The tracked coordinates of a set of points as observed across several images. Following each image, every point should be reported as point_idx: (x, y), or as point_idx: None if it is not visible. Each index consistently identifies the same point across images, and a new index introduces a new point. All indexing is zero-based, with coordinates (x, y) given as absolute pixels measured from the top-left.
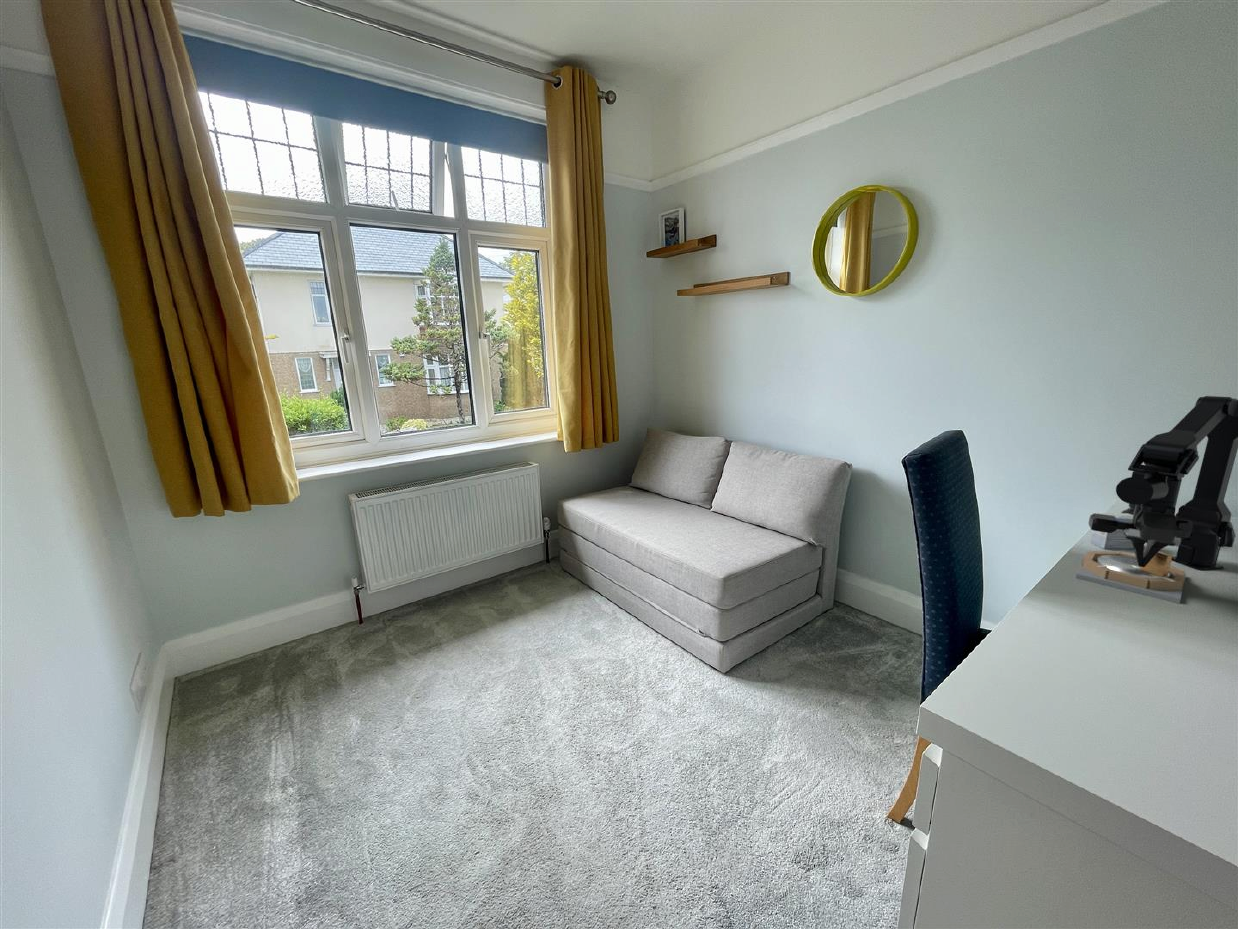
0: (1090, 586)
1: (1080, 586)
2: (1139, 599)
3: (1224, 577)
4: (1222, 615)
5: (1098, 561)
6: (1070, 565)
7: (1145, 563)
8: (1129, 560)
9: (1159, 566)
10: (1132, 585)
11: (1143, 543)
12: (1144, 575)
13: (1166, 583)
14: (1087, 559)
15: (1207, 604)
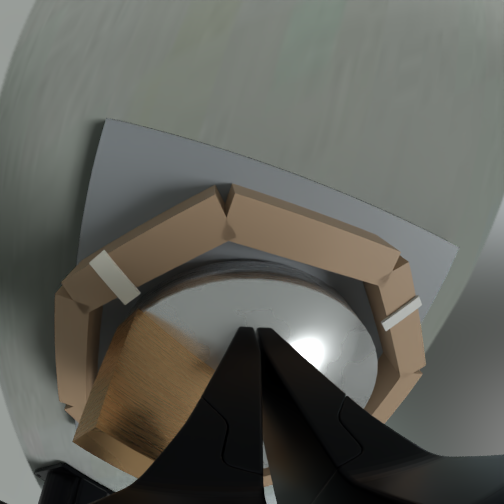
0: (431, 161)
1: (460, 145)
2: (281, 76)
3: (21, 436)
4: (13, 85)
5: (372, 384)
6: None
7: (244, 340)
8: None
9: (149, 365)
10: (287, 203)
11: (397, 489)
12: (229, 284)
13: (132, 236)
14: (412, 373)
15: (24, 185)
